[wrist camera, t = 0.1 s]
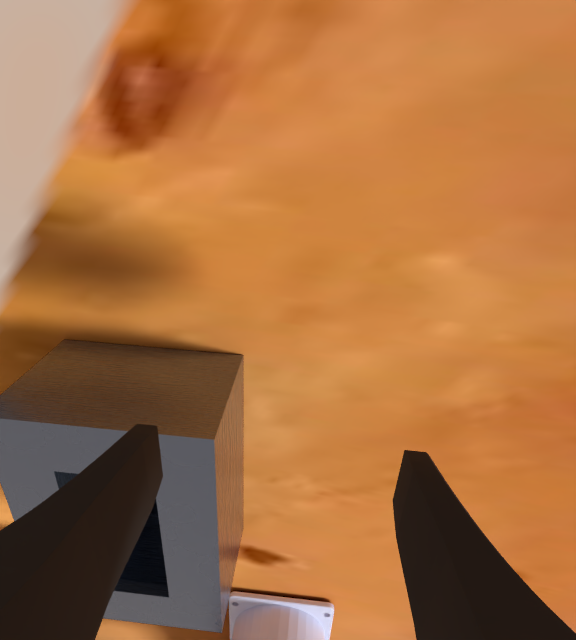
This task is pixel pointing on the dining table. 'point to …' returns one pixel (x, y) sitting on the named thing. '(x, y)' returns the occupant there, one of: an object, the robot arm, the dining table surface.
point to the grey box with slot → (176, 456)
